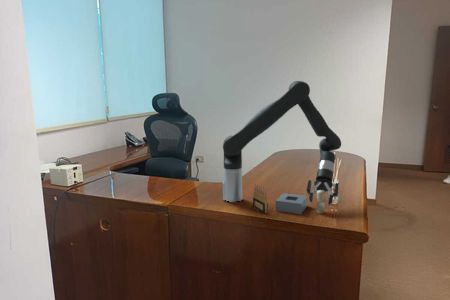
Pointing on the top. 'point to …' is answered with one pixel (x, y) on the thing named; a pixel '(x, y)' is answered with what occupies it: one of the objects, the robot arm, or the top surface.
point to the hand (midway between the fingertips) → (320, 202)
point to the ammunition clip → (260, 199)
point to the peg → (320, 201)
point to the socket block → (291, 203)
